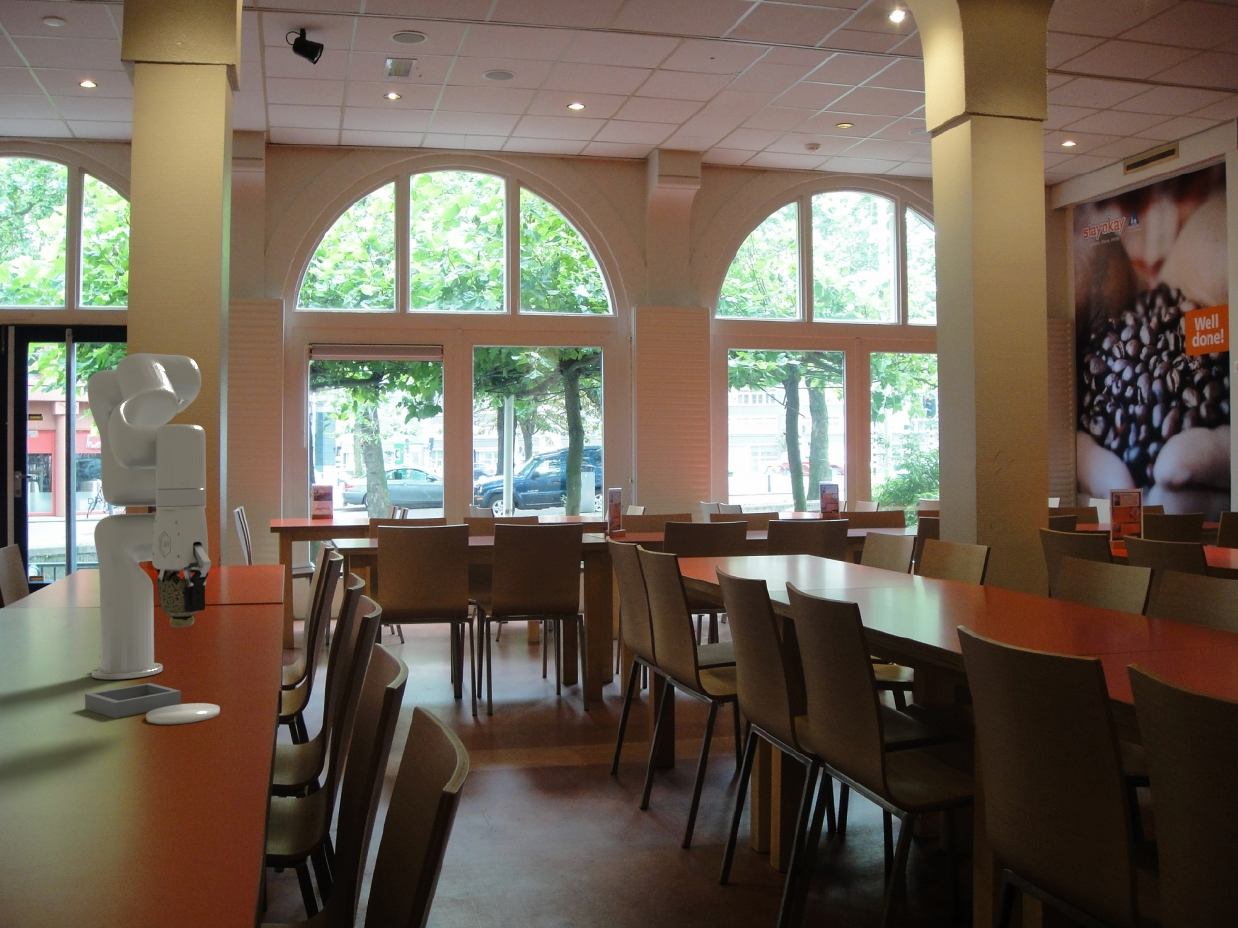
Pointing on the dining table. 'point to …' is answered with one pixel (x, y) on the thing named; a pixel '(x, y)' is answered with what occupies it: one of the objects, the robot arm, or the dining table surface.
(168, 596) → the ornate bronze lamp shade
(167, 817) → the dining table surface
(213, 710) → the coaster
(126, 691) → the pocket frame
